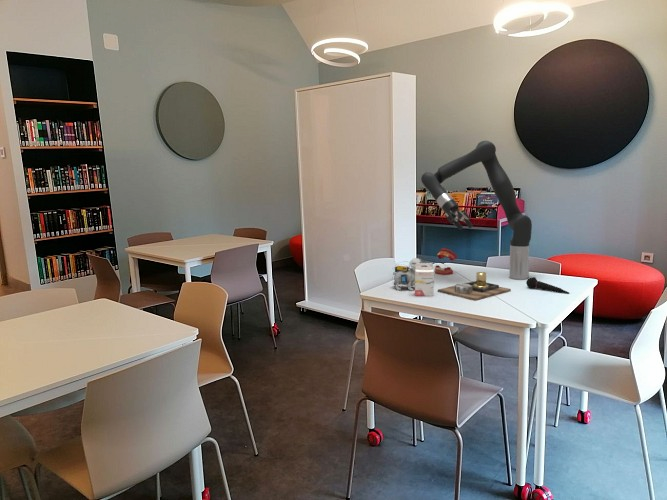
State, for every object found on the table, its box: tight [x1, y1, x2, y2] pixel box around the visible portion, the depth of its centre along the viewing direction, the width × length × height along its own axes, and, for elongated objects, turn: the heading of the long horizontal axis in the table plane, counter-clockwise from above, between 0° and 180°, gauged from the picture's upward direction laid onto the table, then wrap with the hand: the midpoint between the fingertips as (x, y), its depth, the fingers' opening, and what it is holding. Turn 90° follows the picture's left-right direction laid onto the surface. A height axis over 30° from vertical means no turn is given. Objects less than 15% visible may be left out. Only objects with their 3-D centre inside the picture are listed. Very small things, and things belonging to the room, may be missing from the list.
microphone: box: [525, 276, 570, 295], centre depth 232 cm, size 6×6×20 cm
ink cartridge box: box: [414, 262, 435, 297], centre depth 230 cm, size 9×5×15 cm, turn 84°
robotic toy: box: [391, 257, 427, 292], centre depth 243 cm, size 13×17×15 cm
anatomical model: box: [434, 247, 458, 276], centre depth 275 cm, size 10×8×15 cm
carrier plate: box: [437, 280, 512, 302], centre depth 234 cm, size 26×22×4 cm
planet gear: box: [473, 271, 490, 289], centre depth 235 cm, size 8×8×8 cm
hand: (466, 227), depth 244 cm, fingers open, 8 cm apart
